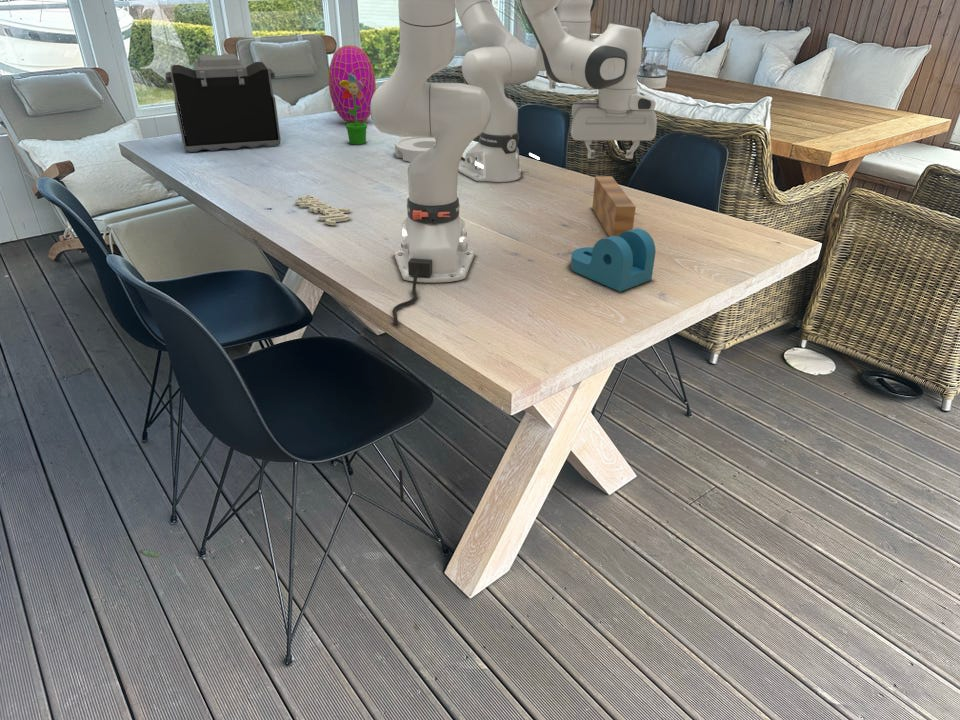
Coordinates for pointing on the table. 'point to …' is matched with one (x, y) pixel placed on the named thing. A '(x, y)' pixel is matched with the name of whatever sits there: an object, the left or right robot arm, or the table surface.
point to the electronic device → (225, 104)
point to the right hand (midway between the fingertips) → (569, 88)
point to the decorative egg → (340, 66)
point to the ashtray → (413, 147)
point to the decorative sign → (323, 209)
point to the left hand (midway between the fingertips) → (609, 158)
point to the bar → (612, 206)
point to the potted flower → (354, 129)
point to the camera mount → (617, 260)
